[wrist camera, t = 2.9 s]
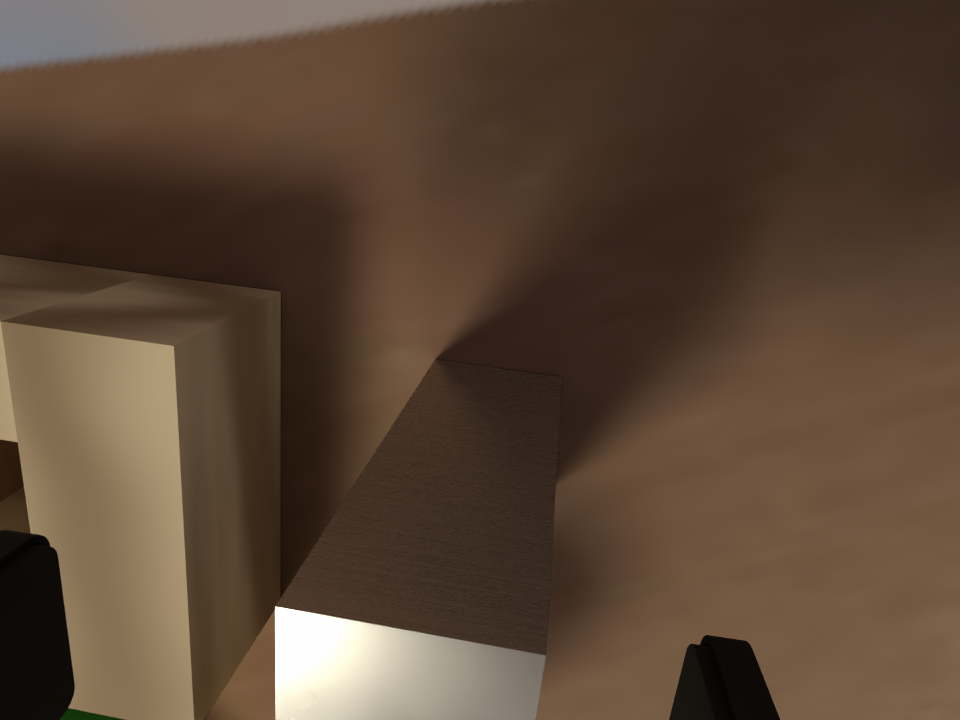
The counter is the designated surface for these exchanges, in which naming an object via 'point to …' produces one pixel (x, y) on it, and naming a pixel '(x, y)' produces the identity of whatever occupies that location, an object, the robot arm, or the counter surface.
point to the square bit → (433, 563)
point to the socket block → (145, 472)
